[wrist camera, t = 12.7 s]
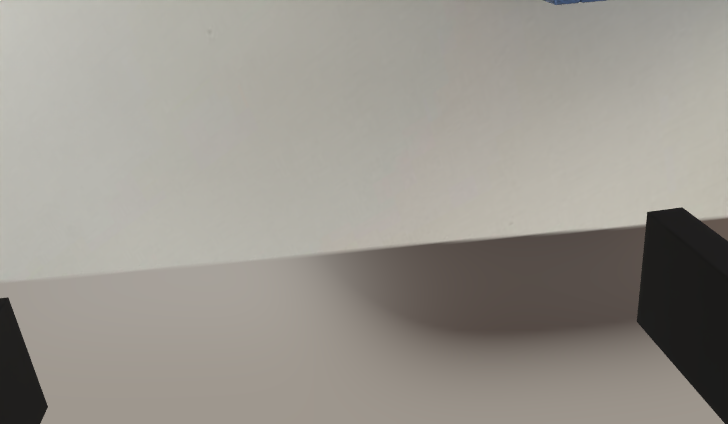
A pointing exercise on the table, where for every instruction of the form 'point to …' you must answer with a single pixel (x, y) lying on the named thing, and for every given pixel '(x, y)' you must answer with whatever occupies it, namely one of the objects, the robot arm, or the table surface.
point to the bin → (569, 1)
